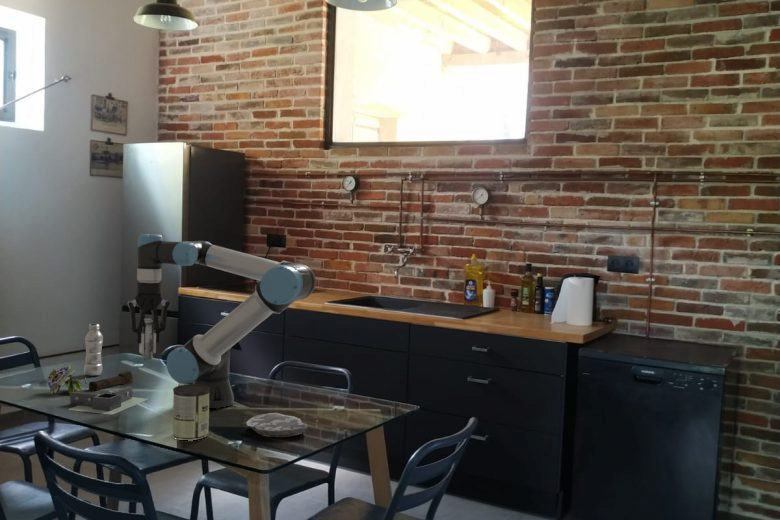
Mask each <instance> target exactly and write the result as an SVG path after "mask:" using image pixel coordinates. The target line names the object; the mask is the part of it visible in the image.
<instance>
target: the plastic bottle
mask: <svg viewBox="0 0 780 520" xmlns="http://www.w3.org/2000/svg"><path fill="white" fill-rule="evenodd" d="M100 329H101V328H100V323H89V324H88V330H89V331H88V332H87V333H86V335H85V337H84V343H85V353H86V354H85V361H84V362H85V363H84V366H83V372H84V373H83V374H84V375H86V376H91V377H95V376H100V375H102V373H103V363H102V349H103V348H102V347H103V342H104V336H103V334H102V332H101V331H100Z"/></svg>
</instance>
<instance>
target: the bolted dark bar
mask: <svg viewBox="0 0 780 520" xmlns="http://www.w3.org/2000/svg"><path fill="white" fill-rule="evenodd" d="M111 393H112V394H121V402H123V401H126V400H128V399H131V398H132V397H133V386H131V385H129V386H126V387H123V388H120V389H118V390H114V391H113V392H111Z"/></svg>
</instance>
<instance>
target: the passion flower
mask: <svg viewBox="0 0 780 520" xmlns="http://www.w3.org/2000/svg"><path fill="white" fill-rule="evenodd" d="M71 368H72V365H71V364H68V365H67V367H65V366H64V367H63V368H62V367H61V368H60V369H59V370H58V369H57V368H54V369H52V371H50V372H49V374H48V376H47V377H48V379H49V380H47V382H46V383H47V384H48V386H49V389H50V391H49V392H51V393H50V394H51V395H54V394H57V393H58V392H59V391H60V389H61V387H64V386H66V387H67V390H68V394H69V396H70V392H75V391H76V392H81V390H82V383H81V382H80V381H81V380H84V384H87V383H88V381H87V377H86V376H85V377H83V378H80V379H73V375H74V374H75V370H72V371H71Z"/></svg>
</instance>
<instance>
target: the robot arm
mask: <svg viewBox="0 0 780 520" xmlns="http://www.w3.org/2000/svg"><path fill="white" fill-rule="evenodd" d="M136 247H137V270H136V271H137V273H136V280H137V282H136V296H135V298H134V299H133V300H130V301H129V300H128V301H127V302H126V304H127V307H128V309H129V311H128V312H129V325H130V331H131V332H132V333H136V343H137V344H138V345H139V349H138V350H139V351H138V352H139V353H140V354H141V355H142V354H144V334H143V324H144V319H146V318H145V317H146V314H147V311H149V310H150V312H151V317H152V318H151V319H154V323H153V354H156V352H157V351H156V350H157V343H159V342H160V333H161V332H164V331H166V327H167V326H166V325H167V318H168V317H167V316H168V308H169V306H170V304H171V303H170V302H171V301H169V300H166V299H163V297H162V283H161V282H160V281H162V265H171V266H180V267H183V266H185V267H186V266H187V267H188V266H189V267H190V266H193V265H194V264H197V265H201V266H205V267H210V268H213V269H216V270H220V271H223V272H227V273H230V274H234V275H238V276H242V277H245V278H249V279H251V280H256V281H258V282H257V283H256V284H255V286H254V289H255V290H254V292H253V293H252V294H251V295H250V296H248V297H247V298H246V299H245V300H244V301H242V302H241V303H240V304H239V305H238V306H237V307H235V308H234V309H233V310H232V311H230V312H229V313H227V314H226V316H224V317H223V318H222V319H221V320H219V321H218V322H217V323H216V324H215V325H214V326H213V327H211V328H210V329H209V330H208V331H207V332H206V333H204V334H196V335H194V336H193V337H191V339H190V340H188V341H187V342H186V343H184V344H183V345H181V346H178V347H175V348H174V349H172V350H171V351H170V352H169V354H168V355H167V358H166V369H167V373H168V374H169V376H170V377H171V378H172V380H173V381H174V382H176V383H178V384H181V385H188V384H199V385H206V386H208V387H210V394H209V408H216V409H221V408H220V407H224V408H227V407H226V406H228V407H230V405H231V406H232V405H234V403H235V401H234V400H235V395H234V392H233V389H232V386H231V383H230V368H231V367H230V365H231V363H230V362H231V349H232V347H234V345H236V344H237V343H238V342H239V341H241V340H242V339H243V338H245V337H246V336H247V335H248V334H249V333H251V331H253V330H254V329H255V328H256V327H258V326H259V325H260V324H261V323H262V322H264V321H265V320H266V319H268V318H269V317H270V316H271V315H273V314H278V315H279V314H281V313H282V312H284V311H285V310H286V309H287V308H289V307H290V306H291V305H293V303H295V302H297V301H300V300H304V299H306V298H308V297H310V296H311V294H313V292H314V291H315V289H316V283H317V281H316V280H317V279H316V276H315V272H314V270H312V269H311V268H310V267H309V266H307V265H306V264H303V263H299V262H298V263H297V262H292V261H287V260H282V261H281V262H279V261H276V260H271V259H269V258H265V257H260V256H256V255H253V254H249V253H246V252H242V251H238V250H234V249H231V248H227V247H223V246H219V245H216V244H212V243H210V241H206V240H194V241H193V240H192V241H191V240H190V241H166V240H164V239H163V235H161V234H157V233H156V234H154V233H153V234H152V233H140V235H138V237H137V246H136ZM136 304H137V305H138V306H139V314H138V320H137V321H136V309H135V307H136V306H137V305H136ZM160 304H161V312H160V321H159V318H158V307H159V306H160Z"/></svg>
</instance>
